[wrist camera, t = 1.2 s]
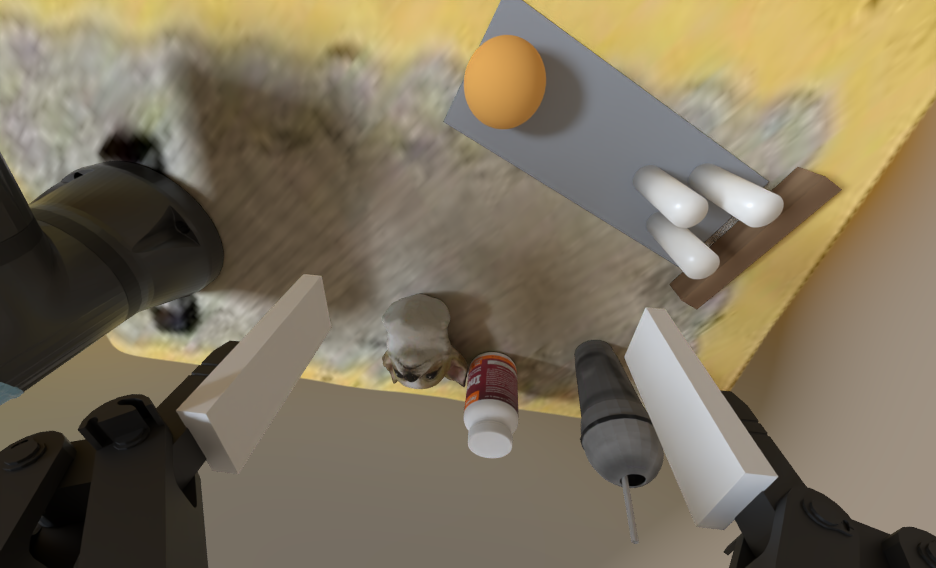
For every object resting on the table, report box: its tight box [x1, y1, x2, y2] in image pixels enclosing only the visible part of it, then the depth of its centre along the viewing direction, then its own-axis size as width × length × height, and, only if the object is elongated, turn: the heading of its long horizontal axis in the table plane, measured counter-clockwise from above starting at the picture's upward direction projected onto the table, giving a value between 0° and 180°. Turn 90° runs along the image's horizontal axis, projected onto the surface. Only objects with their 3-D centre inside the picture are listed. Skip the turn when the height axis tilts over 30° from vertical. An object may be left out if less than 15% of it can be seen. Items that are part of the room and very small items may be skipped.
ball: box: [464, 35, 546, 129], centre depth 26 cm, size 6×6×6 cm
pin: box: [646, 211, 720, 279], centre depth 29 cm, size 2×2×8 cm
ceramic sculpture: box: [382, 294, 468, 389], centre depth 40 cm, size 11×9×15 cm
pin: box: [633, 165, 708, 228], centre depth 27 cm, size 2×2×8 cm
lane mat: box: [444, 0, 769, 267], centre depth 30 cm, size 27×10×1 cm, turn 61°
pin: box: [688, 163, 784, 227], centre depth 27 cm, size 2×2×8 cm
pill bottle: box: [464, 352, 518, 458], centre depth 41 cm, size 6×6×11 cm
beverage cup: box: [575, 340, 664, 544], centre depth 34 cm, size 7×7×20 cm
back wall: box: [670, 167, 842, 309], centre depth 32 cm, size 2×14×3 cm, turn 151°
